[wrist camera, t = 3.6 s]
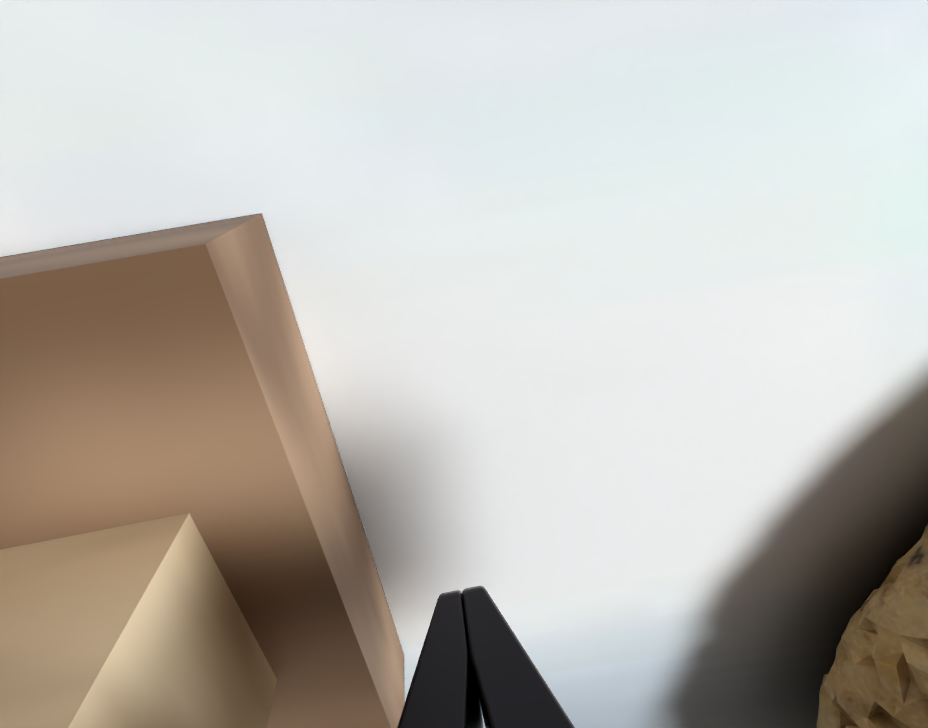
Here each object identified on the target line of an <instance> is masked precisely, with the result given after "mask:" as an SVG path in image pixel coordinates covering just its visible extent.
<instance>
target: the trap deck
mask: <svg viewBox="0 0 928 728" xmlns="http://www.w3.org/2000/svg"><path fill="white" fill-rule="evenodd" d="M187 513H189V514H190V516H191V517H192V519H193V521H194V523H195V525H196V527H197V529H198V531H199V533H200V534H201V536H202V538H203V540H204V542H205V544H206V546H207V548H208V550H209V551H210V553H211V555H212V557H213V559H214V561H215V563H216V565H217V567H218V568H219V570H220V572H221V574H222V576H223V578H224V580H225V582H226V584H227V585H228V587H229V589H230V591H231V593H232V595H233V597H234V599H235V601H236V602H237V604H238V606H239V608H240V610H241V612H242V614H243V616H244V618H245V619H246V621H247V623H248V625H249V627H250V629H251V631H252V633H253V635H254V636H255V638H256V640H257V642H258V644H259V646H260V648H261V650H262V652H263V654H264V655H265V657H266V659H267V661H268V663H269V665H270V667H271V669H272V671H273V672H274V674H275V676H276V678H277V683H276V688H275V692H274V696H273V701H272V705H271V710H270V714H269V718H268V723H267V727H266V728H397V727H398V723H399V720H400V717H401V714H402V711H403V708H404V653H403V650H402V647H401V644H400V641H399V638H398V635H397V632H396V629H395V625H394V622H393V619H392V616H391V613H390V610H389V607H388V604H387V601H386V598H385V594H384V591H383V588H382V585H381V582H380V579H379V576H378V573H377V570H376V567H375V563H374V560H373V557H372V554H371V551H370V548H369V545H368V542H367V539H366V535H365V532H364V529H363V526H362V523H361V520H360V517H359V514H358V511H357V508H356V504H355V501H354V498H353V495H352V492H351V489H350V486H349V483H348V480H347V477H346V473H345V470H344V467H343V464H342V461H341V458H340V455H339V452H338V449H337V445H336V442H335V439H334V436H333V433H332V430H331V427H330V424H329V421H328V418H327V414H326V411H325V408H324V405H323V402H322V399H321V396H320V393H319V390H318V387H317V383H316V380H315V377H314V374H313V371H312V368H311V365H310V362H309V359H308V355H307V352H306V349H305V346H304V343H303V340H302V337H301V334H300V331H299V328H298V324H297V321H296V318H295V315H294V312H293V309H292V306H291V303H290V300H289V297H288V293H287V290H286V287H285V284H284V281H283V278H282V275H281V272H280V269H279V266H278V262H277V259H276V256H275V253H274V250H273V247H272V244H271V241H270V238H269V234H268V231H267V228H266V225H265V222H264V219H263V216H262V213H261V214H255V215H249V216H243V217H237V218H231V219H225V220H219V221H213V222H207V223H201V224H195V225H190V226H184V227H178V228H172V229H166V230H160V231H154V232H148V233H142V234H136V235H130V236H124V237H118V238H112V239H106V240H100V241H94V242H88V243H82V244H76V245H70V246H65V247H59V248H53V249H47V250H41V251H35V252H29V253H23V254H17V255H11V256H5V257H0V550H2V549H7V548H12V547H17V546H22V545H27V544H33V543H38V542H43V541H48V540H53V539H58V538H63V537H69V536H74V535H79V534H84V533H89V532H94V531H100V530H105V529H110V528H115V527H120V526H125V525H131V524H136V523H141V522H146V521H151V520H156V519H162V518H167V517H172V516H177V515H182V514H187Z"/></svg>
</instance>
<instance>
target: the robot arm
mask: <svg viewBox="0 0 928 728" xmlns="http://www.w3.org/2000/svg"><path fill="white" fill-rule="evenodd" d="M481 709H482V710H481ZM482 714H483V718H484V723H485V727H486V728H575V727H574V726H573V724H572V723H571V721H570V720H569V718H568V716H567V715H566V713H565V712H564V710H563V709H562V707H561V706H560V704H559V703H558V701H557V699H556V698H555V696H554V695H553V693H552V692H551V690H550V689H549V687H548V685H547V684H546V682H545V681H544V679H543V678H542V676H541V675H540V673H539V671H538V670H537V668H536V667H535V665H534V664H533V662H532V661H531V659H530V657H529V656H528V654H527V653H526V651H525V650H524V648H523V647H522V645H521V644H520V642H519V640H518V639H517V637H516V636H515V634H514V633H513V631H512V630H511V628H510V626H509V625H508V623H507V622H506V620H505V619H504V617H503V616H502V614H501V612H500V611H499V609H498V608H497V606H496V605H495V603H494V602H493V600H492V598H491V597H490V595H489V594H488V592H487V591H486V589H485V588H484V587H483V586H476V587H471V588H466V589H464V590H463V592H462V593H461V591H458V590H457V591H452V592H447V593H442V594H441V595H440V596H439V598H438V600H437V604H436V607H435V610H434V613H433V616H432V619H431V622H430V626H429V629H428V632H427V635H426V638H425V641H424V645H423V648H422V651H421V654H420V657H419V660H418V664H417V667H416V670H415V673H414V676H413V679H412V682H411V686H410V689H409V692H408V695H407V698H406V701H405V705H404V708H403V711H402V714H401V717H400V720H399V723H398V727H397V728H483V718H482Z"/></svg>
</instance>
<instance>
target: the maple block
mask: <svg viewBox="0 0 928 728" xmlns="http://www.w3.org/2000/svg"><path fill="white" fill-rule="evenodd" d="M276 683H277V678H276V676H275V674H274V672H273V671H272V669H271V667H270V665H269V663H268V661H267V659H266V657H265V655H264V654H263V652H262V650H261V648H260V646H259V644H258V642H257V640H256V638H255V636H254V635H253V633H252V631H251V629H250V627H249V625H248V623H247V621H246V619H245V618H244V616H243V614H242V612H241V610H240V608H239V606H238V604H237V602H236V601H235V599H234V597H233V595H232V593H231V591H230V589H229V587H228V585H227V584H226V582H225V580H224V578H223V576H222V574H221V572H220V570H219V568H218V567H217V565H216V563H215V561H214V559H213V557H212V555H211V553H210V551H209V550H208V548H207V546H206V544H205V542H204V540H203V538H202V536H201V534H200V533H199V531H198V529H197V527H196V525H195V523H194V521H193V519H192V517H191V516H190V514H189V513H187V514H182V515H177V516H172V517H167V518H162V519H156V520H151V521H146V522H141V523H136V524H131V525H125V526H120V527H115V528H110V529H105V530H100V531H94V532H89V533H84V534H79V535H74V536H69V537H63V538H58V539H53V540H48V541H43V542H38V543H33V544H27V545H22V546H17V547H12V548H7V549H2V550H0V728H266V727H267V723H268V718H269V714H270V710H271V705H272V701H273V696H274V692H275V688H276Z"/></svg>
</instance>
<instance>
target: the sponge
mask: <svg viewBox="0 0 928 728" xmlns="http://www.w3.org/2000/svg"><path fill="white" fill-rule="evenodd" d="M819 698H820V700H819V712H818V720H817V728H928V525H926V528H925V530H924V533H923V535H922V538H921V539H920V540H919V541H918V542H917V543H916V544H915V545H914V546H913V547H912V548H911V549H910V550H909V551H908V552H907V553H906V554H905V555H904V556H903V557H901V558H899V559H898V560H897V561H896V563H895V565H894V566H893V567H892V569H891V571H890V573H889V575H888V576H887V578H886V579H885V581H884V582H883V583H882V585H881V586H880V588H879V589H875V590H873V592H872V593H871V594H870V595H869V597H868V598H867V599H866V601H865V602H864V604H863V605H862V606H861V607H860V608H859V609H858V611H857V612H856V613H855V614H854V615H853V616H852V617H851V619H850V621H849V623H848V625H847V627H846V629H845V631H844V633H843V635H842V636H841V640H840V642H839V644H838V646H837V650H836V657H835V661H834V663H833V665H832V667H831V669H830V671H829V674H824V677H823V681H822V685H821V688H820V692H819Z"/></svg>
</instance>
